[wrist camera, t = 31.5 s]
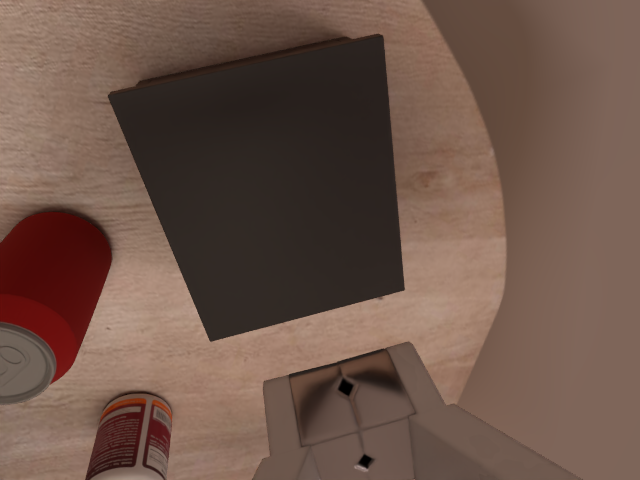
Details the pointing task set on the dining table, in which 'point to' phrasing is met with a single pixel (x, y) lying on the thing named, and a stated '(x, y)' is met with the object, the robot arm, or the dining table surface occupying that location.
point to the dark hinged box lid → (273, 182)
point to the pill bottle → (132, 440)
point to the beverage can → (46, 299)
